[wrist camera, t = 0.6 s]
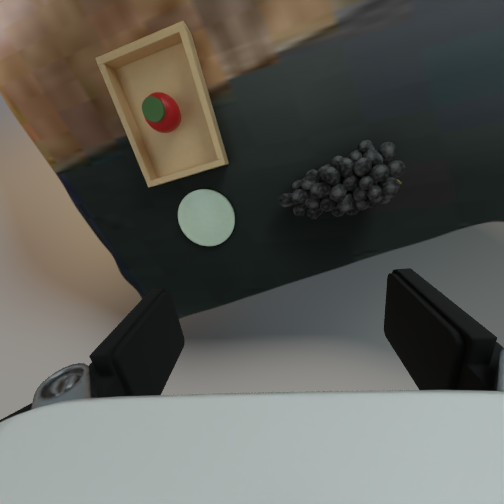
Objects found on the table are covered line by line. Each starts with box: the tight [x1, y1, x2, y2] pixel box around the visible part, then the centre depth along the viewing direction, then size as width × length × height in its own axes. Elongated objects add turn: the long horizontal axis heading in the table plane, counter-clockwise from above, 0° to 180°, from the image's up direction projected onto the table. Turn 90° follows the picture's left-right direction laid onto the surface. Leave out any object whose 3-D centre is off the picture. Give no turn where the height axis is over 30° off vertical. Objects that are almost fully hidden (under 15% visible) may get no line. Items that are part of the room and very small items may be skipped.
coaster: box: [178, 189, 235, 246], centre depth 37 cm, size 9×9×1 cm
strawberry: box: [142, 92, 181, 133], centre depth 30 cm, size 4×4×5 cm
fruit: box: [279, 140, 406, 219], centre depth 30 cm, size 9×8×15 cm
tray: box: [95, 21, 229, 187], centre depth 31 cm, size 16×12×3 cm
